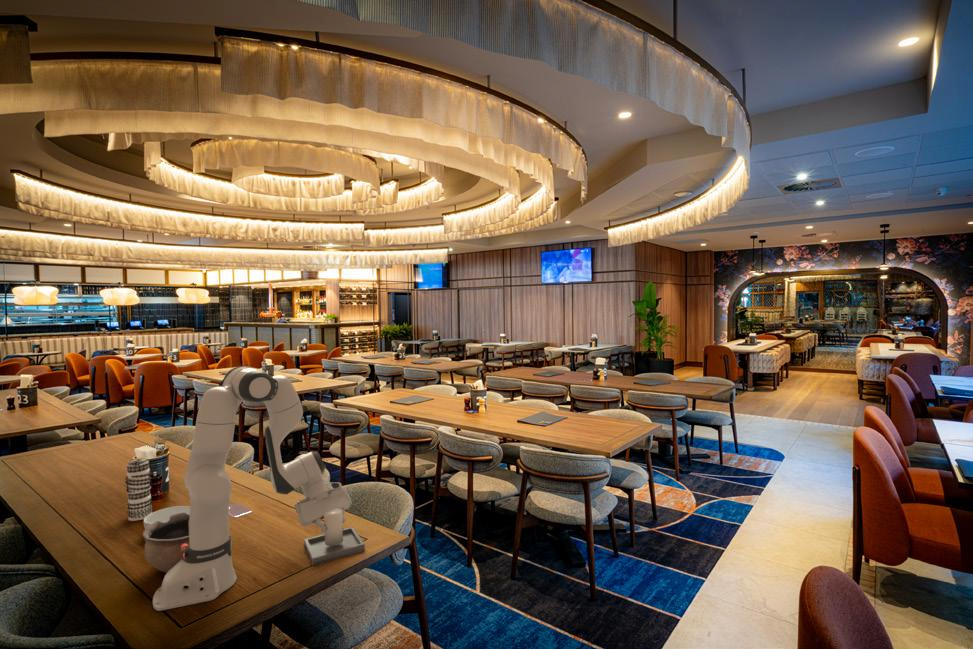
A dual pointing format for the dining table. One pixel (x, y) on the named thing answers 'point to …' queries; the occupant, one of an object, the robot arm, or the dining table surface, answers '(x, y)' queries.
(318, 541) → the serving tray
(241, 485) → the dining table surface
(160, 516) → the cereal bowl
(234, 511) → the mobile phone
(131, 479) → the decorative candle
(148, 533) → the ceramic bowl
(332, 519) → the cream capsule shape
